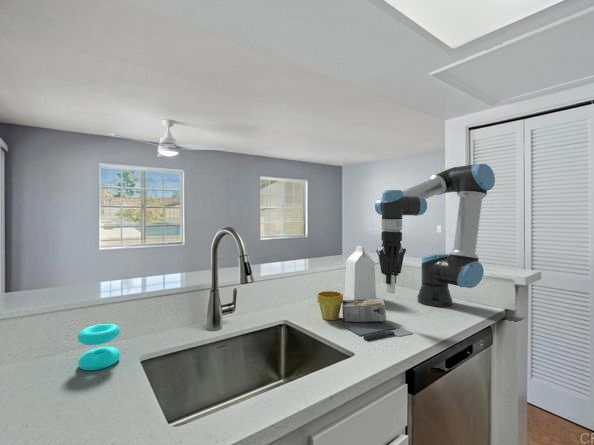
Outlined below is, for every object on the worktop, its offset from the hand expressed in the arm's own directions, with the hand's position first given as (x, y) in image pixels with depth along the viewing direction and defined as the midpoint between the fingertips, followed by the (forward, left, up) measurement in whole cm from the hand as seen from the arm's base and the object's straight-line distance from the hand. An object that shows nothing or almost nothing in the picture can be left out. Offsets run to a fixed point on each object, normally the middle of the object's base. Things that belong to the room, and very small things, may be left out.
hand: (390, 292), depth 121 cm
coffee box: (+1, -2, -7) cm, 7 cm away
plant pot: (+17, -16, -12) cm, 27 cm away
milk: (-12, -35, -12) cm, 39 cm away
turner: (+8, +8, -12) cm, 17 cm away
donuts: (+96, -10, -12) cm, 97 cm away
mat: (+10, -2, -12) cm, 16 cm away
